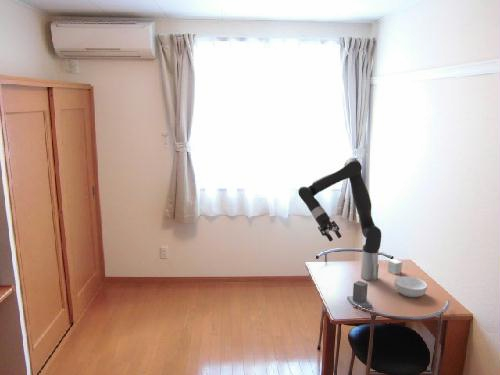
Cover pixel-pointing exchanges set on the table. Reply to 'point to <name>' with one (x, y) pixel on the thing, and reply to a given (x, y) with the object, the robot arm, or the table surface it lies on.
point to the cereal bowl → (410, 286)
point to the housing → (360, 291)
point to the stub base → (364, 304)
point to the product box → (394, 266)
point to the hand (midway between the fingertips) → (336, 239)
